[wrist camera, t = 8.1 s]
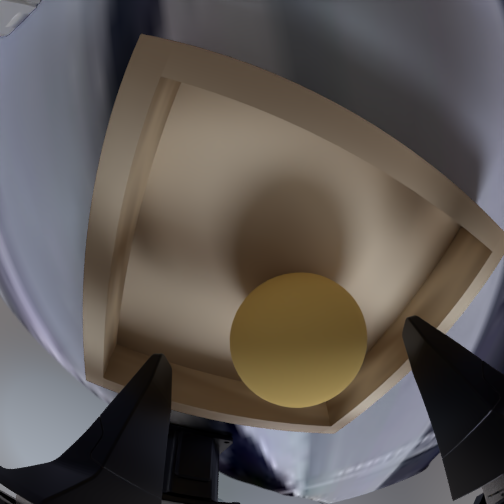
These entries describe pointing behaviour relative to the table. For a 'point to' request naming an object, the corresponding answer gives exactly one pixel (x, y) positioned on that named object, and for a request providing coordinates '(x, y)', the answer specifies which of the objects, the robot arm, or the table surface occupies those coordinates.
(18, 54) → the table surface
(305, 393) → the ball
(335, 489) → the table surface
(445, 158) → the table surface
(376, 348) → the tray
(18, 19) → the cup
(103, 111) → the table surface
